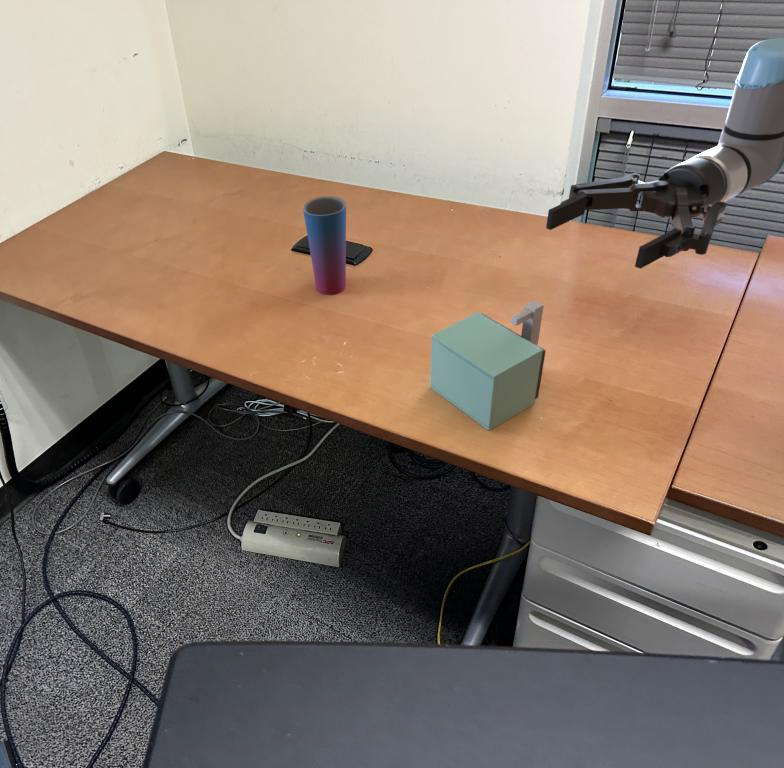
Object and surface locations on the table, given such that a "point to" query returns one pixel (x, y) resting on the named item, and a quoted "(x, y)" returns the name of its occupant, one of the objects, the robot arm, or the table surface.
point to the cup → (327, 242)
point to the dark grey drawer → (530, 328)
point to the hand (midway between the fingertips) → (592, 238)
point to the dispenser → (484, 369)
